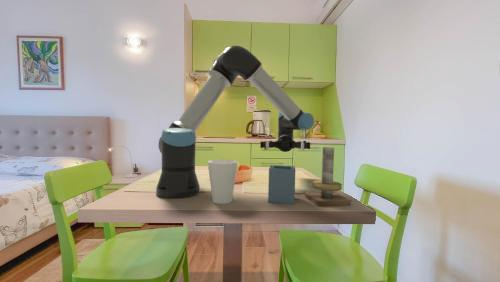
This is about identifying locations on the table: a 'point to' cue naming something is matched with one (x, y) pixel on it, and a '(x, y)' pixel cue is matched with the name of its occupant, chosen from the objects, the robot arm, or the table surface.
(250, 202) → the table surface
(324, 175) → the post stand
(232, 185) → the foam cup
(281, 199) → the sleeve
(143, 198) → the table surface
